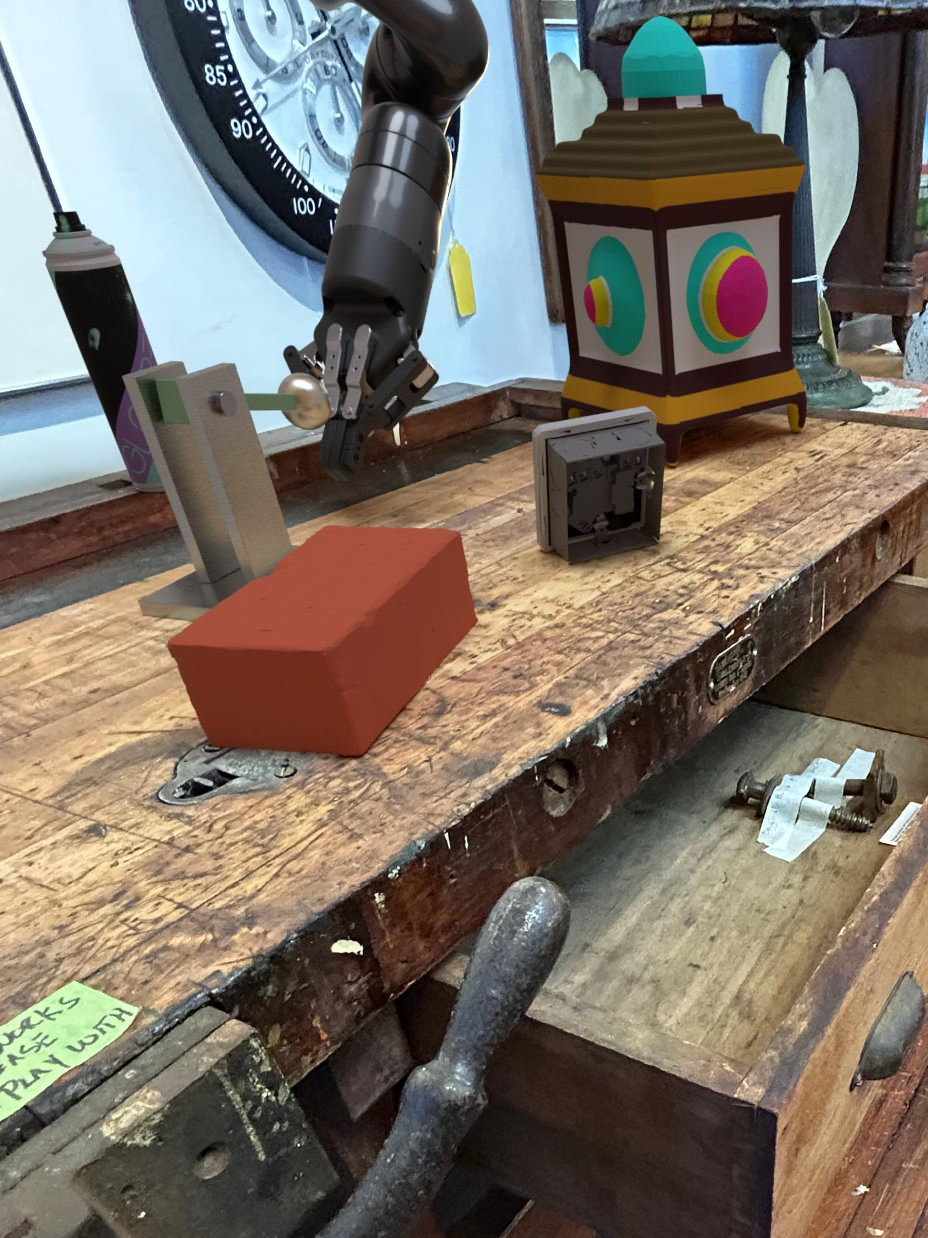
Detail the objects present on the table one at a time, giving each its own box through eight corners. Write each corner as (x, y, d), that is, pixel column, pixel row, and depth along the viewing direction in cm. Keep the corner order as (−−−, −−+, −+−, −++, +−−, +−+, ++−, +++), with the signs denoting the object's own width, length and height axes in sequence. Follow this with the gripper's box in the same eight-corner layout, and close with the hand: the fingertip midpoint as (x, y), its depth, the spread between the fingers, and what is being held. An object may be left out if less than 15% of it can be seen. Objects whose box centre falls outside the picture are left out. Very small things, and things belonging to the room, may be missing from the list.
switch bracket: (257, 557, 78) (186, 347, 69) (357, 566, 76) (298, 351, 67) (144, 618, 70) (46, 388, 60) (254, 631, 67) (170, 394, 58)
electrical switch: (646, 527, 80) (640, 397, 74) (678, 552, 77) (675, 419, 71) (536, 553, 77) (519, 419, 70) (566, 580, 74) (551, 443, 67)
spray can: (144, 496, 91) (34, 216, 77) (127, 483, 94) (18, 212, 81) (206, 483, 93) (110, 209, 80) (187, 470, 97) (91, 205, 83)
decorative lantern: (544, 436, 102) (485, 23, 82) (696, 399, 111) (677, 22, 91) (669, 475, 90) (637, 7, 70) (827, 431, 100) (838, 7, 80)
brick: (361, 758, 54) (327, 649, 50) (207, 749, 55) (161, 642, 51) (480, 622, 67) (461, 527, 63) (353, 617, 69) (326, 524, 65)
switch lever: (304, 428, 77) (295, 372, 75) (345, 430, 76) (337, 374, 74) (157, 433, 65) (142, 367, 63) (203, 436, 64) (190, 369, 62)
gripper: (279, 220, 77) (230, 442, 76) (433, 220, 74) (383, 451, 73) (340, 292, 84) (296, 496, 84) (483, 295, 81) (438, 507, 80)
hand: (337, 475), depth 78 cm, fingers closed
